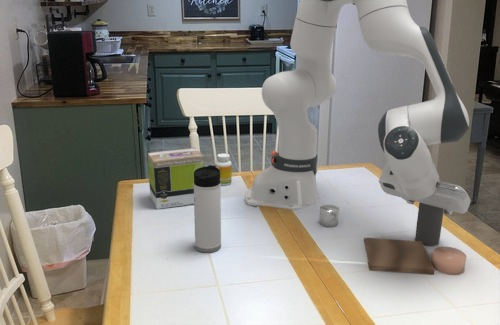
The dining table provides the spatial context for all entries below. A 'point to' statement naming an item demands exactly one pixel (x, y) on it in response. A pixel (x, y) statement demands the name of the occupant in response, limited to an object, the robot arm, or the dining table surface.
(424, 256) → the board
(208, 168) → the travel mug
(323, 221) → the tin
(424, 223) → the bottle
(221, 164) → the supplement bottle
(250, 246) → the dining table surface
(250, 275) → the dining table surface
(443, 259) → the peach dome knob
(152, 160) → the tea box
